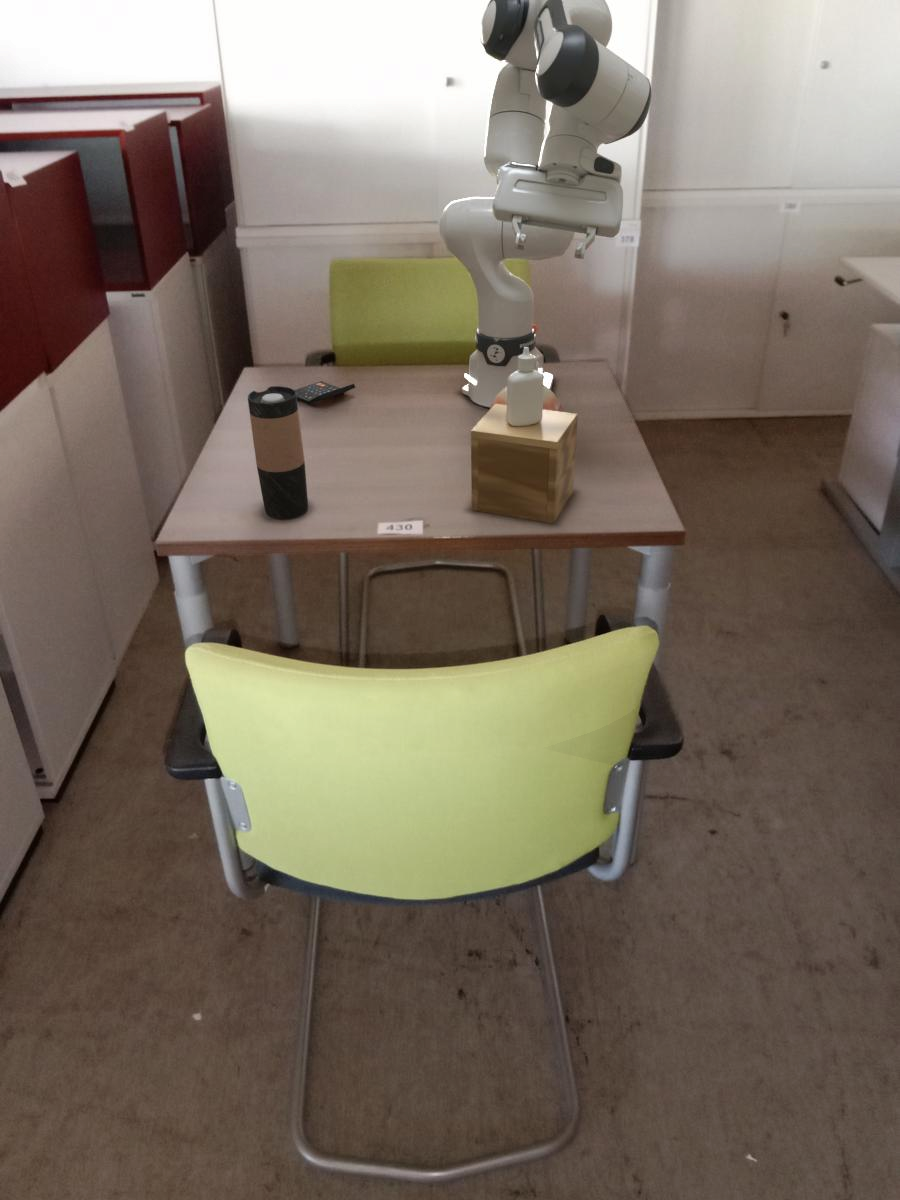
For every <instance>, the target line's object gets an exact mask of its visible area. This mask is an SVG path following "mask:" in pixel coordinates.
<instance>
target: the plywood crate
mask: <svg viewBox="0 0 900 1200" xmlns="http://www.w3.org/2000/svg"><path fill="white" fill-rule="evenodd" d="M489 410H490V411H489ZM489 410H488V411H487V412H486V414H484V416H483V417H482V418H481V419H480V420H479V421H478V422H477V423H476V425H474V426H473V427H472V429H470V462H471V463H470V467H471V468H470V469H471V470H470V471H471V473H470V474H471V476H470V477H471V481H470V482H471V483H470V485H471V488H470V489H471V491H470V492H471V511H475V512H481V513H482V512H483V513H489V514H494V515H501V516H506V517H507V516H508V517H513V518H520V519H526V520H531V521H537V522H544V523H549V524H554V523H555V521H556V520H557V519H558V517H559V516H560V513H561V512H562V510H563V508H564V507H565V505H566V504H567V502H568V500H569V499H570V497H571V495H572V494H573V492H574V482H575V466H576V465H575V463H576V445H577V429H578V413H575V412H566V411H562V412H559V411H551V410H543V415H542V420H541V421H540V422H538V423H536V424H532V425H528V426H512V425H510V424H509V423H508V422H507V405H502V404H495V405H494V406H493V407H492V408H491V409H490V408H489Z"/></svg>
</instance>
